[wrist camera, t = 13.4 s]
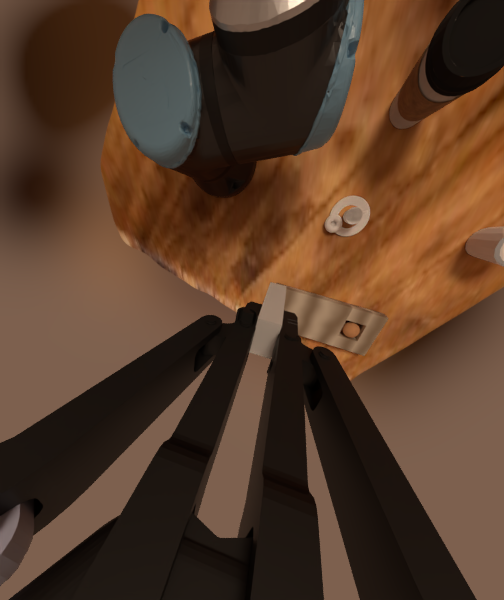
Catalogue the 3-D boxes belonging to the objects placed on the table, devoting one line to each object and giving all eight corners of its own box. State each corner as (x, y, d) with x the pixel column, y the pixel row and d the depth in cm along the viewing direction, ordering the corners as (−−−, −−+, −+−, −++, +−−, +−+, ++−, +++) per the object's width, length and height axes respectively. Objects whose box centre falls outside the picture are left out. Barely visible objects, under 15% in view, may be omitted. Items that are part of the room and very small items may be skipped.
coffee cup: (421, 140, 33) (510, 85, 19) (372, 135, 34) (423, 78, 20) (450, 74, 29) (584, -51, 16) (394, 70, 30) (474, -50, 17)
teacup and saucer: (321, 234, 42) (324, 235, 39) (329, 194, 39) (333, 192, 35) (362, 237, 41) (369, 239, 37) (374, 197, 38) (383, 194, 34)
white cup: (491, 216, 35) (535, 215, 28) (515, 239, 35) (563, 243, 29) (453, 245, 38) (484, 250, 31) (475, 266, 38) (511, 275, 32)
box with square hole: (265, 319, 54) (263, 324, 52) (276, 282, 49) (275, 285, 46) (361, 349, 51) (364, 355, 49) (384, 313, 46) (388, 318, 44)
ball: (349, 331, 44) (360, 341, 45) (355, 318, 46) (365, 328, 47) (336, 331, 48) (346, 340, 49) (342, 319, 50) (351, 328, 50)
